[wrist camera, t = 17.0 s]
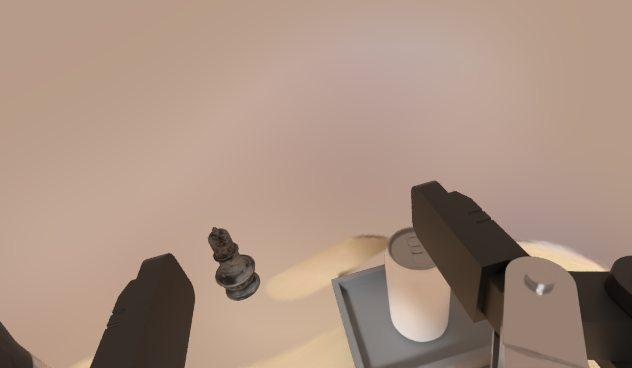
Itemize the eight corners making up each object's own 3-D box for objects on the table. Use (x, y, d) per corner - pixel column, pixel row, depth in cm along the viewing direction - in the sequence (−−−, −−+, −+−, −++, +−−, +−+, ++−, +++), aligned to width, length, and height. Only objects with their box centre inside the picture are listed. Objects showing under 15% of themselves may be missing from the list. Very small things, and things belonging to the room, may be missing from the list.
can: (395, 346, 36) (388, 276, 29) (386, 296, 41) (378, 227, 34) (456, 341, 35) (463, 269, 28) (439, 291, 40) (441, 220, 33)
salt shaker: (255, 264, 52) (230, 206, 45) (266, 289, 47) (240, 230, 40) (220, 281, 50) (188, 224, 43) (228, 309, 45) (194, 251, 39)
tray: (366, 406, 32) (363, 392, 31) (334, 293, 44) (331, 279, 42) (532, 355, 33) (538, 339, 32) (458, 258, 45) (459, 242, 43)
